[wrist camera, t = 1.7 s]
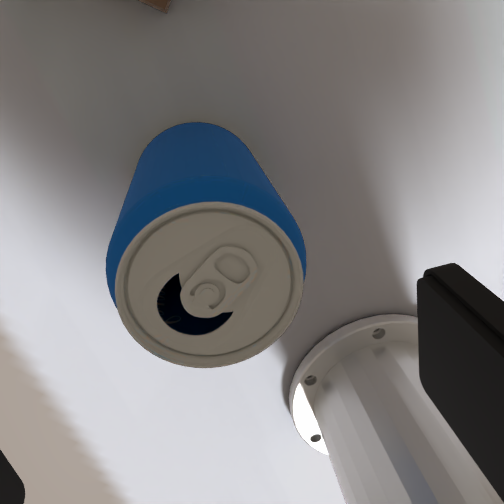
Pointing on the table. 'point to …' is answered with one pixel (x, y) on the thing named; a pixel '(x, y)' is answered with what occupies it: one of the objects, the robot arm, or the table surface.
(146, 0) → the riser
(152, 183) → the beverage can
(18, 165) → the table surface
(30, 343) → the table surface
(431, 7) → the table surface
